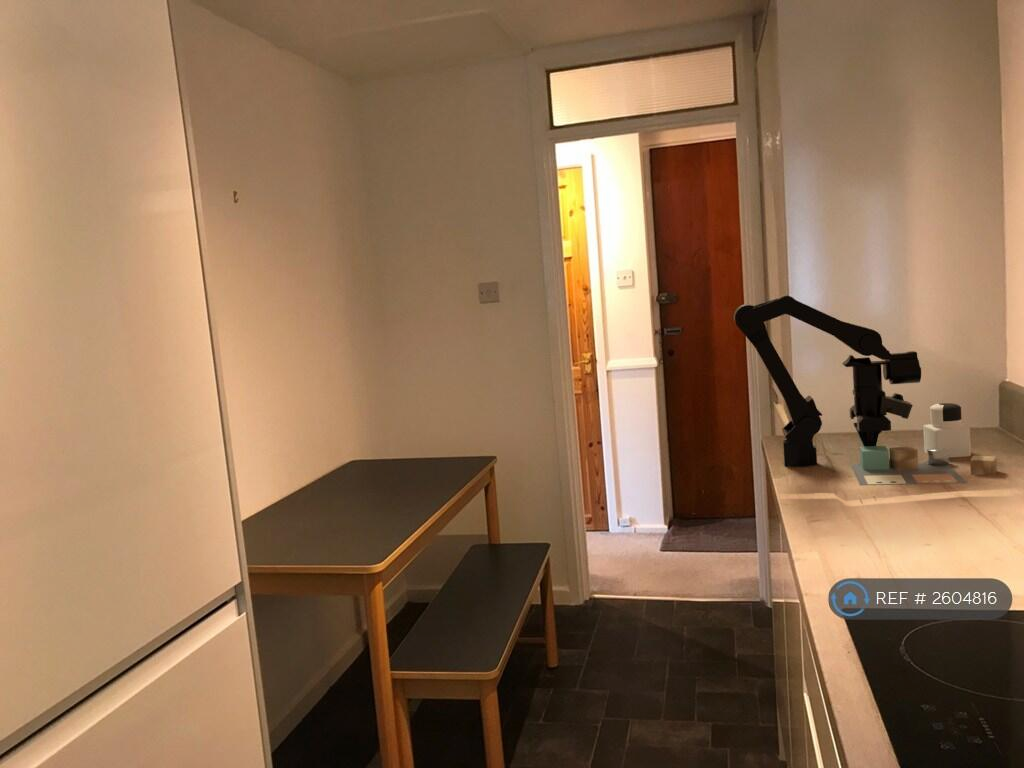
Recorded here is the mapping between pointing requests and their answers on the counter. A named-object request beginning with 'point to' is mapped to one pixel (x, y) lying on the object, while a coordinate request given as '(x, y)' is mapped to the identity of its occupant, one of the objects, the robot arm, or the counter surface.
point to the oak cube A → (903, 458)
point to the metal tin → (938, 456)
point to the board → (908, 475)
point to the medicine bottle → (947, 430)
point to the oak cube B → (983, 465)
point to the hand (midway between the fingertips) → (871, 456)
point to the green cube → (874, 458)
